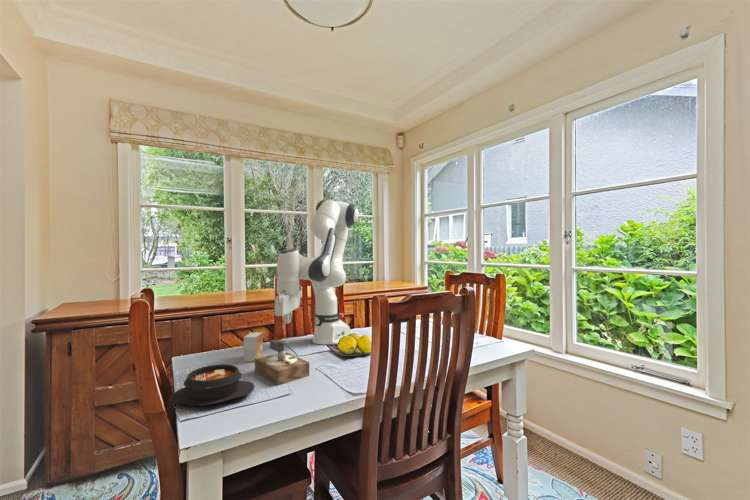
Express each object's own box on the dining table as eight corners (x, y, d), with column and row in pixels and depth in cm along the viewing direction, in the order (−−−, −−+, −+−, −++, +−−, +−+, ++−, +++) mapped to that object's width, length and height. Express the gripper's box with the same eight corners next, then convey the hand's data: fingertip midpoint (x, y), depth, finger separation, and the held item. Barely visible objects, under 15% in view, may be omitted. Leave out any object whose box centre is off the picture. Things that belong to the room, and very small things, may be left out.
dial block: (284, 363, 143) (284, 350, 143) (309, 375, 130) (309, 361, 130) (254, 371, 134) (254, 358, 134) (278, 385, 121) (277, 370, 121)
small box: (256, 362, 145) (256, 337, 145) (243, 361, 145) (243, 337, 145) (263, 355, 153) (262, 332, 153) (250, 355, 153) (250, 332, 153)
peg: (294, 362, 129) (294, 344, 129) (285, 365, 126) (285, 346, 126) (276, 354, 138) (276, 337, 138) (268, 356, 136) (268, 338, 136)
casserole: (160, 416, 99) (160, 388, 99) (178, 390, 117) (178, 365, 117) (252, 405, 106) (252, 378, 106) (256, 382, 124) (256, 359, 124)
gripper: (286, 292, 129) (286, 329, 129) (303, 286, 149) (302, 318, 149) (270, 291, 130) (269, 328, 130) (288, 286, 150) (288, 317, 150)
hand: (287, 323), depth 140 cm, fingers closed
